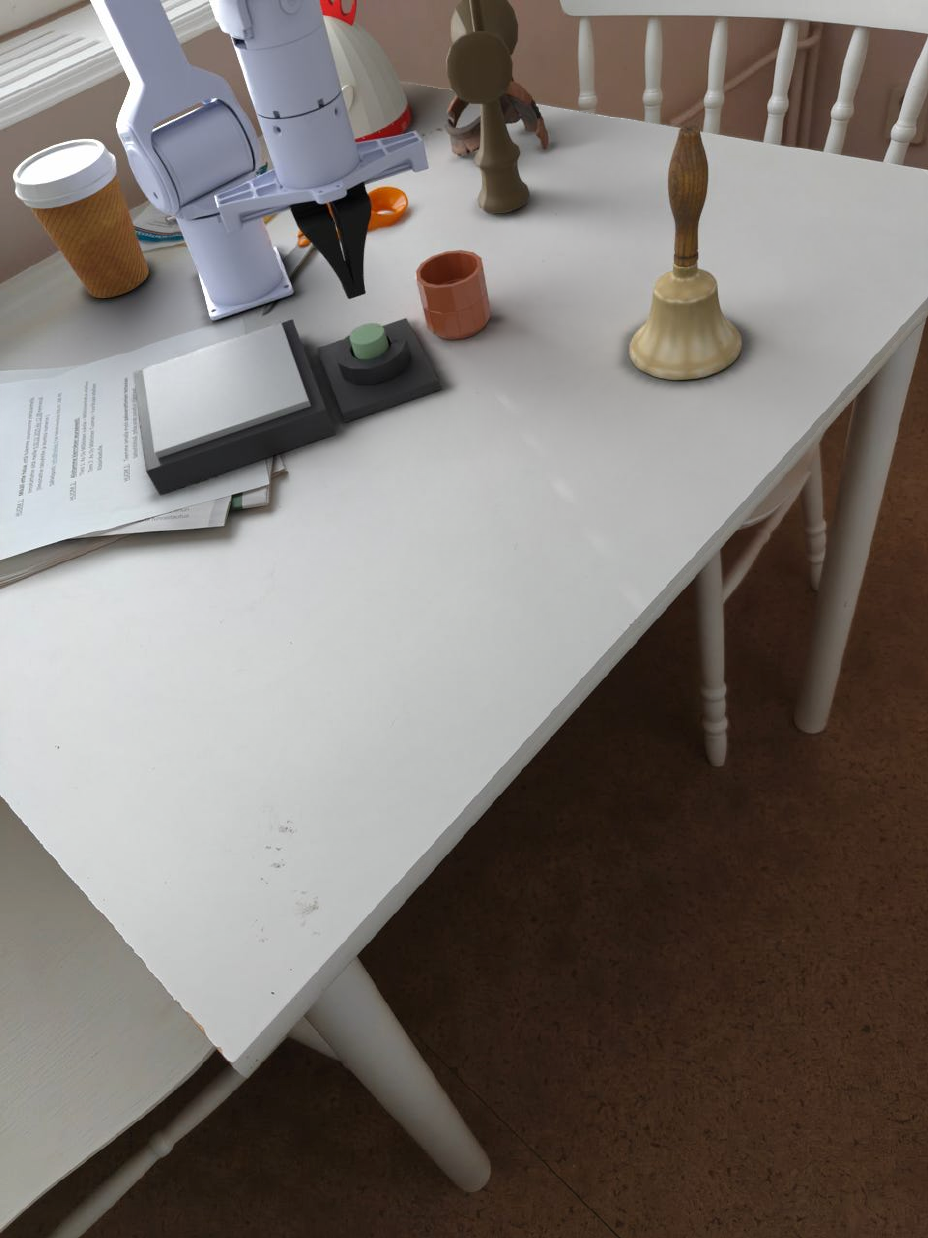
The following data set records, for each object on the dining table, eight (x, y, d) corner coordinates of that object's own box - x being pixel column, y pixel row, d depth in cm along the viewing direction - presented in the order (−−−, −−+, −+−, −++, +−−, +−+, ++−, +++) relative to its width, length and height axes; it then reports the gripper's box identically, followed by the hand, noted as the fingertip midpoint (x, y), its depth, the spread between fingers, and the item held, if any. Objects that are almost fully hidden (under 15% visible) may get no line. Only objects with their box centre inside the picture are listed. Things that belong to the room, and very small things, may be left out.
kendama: (536, 176, 92) (508, -64, 77) (534, 225, 86) (504, -25, 71) (476, 184, 93) (437, -51, 78) (471, 233, 87) (427, -11, 72)
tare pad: (319, 356, 78) (310, 331, 76) (408, 326, 79) (402, 300, 77) (344, 423, 72) (336, 396, 70) (442, 389, 72) (436, 362, 70)
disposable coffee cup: (84, 319, 89) (17, 198, 80) (65, 280, 95) (0, 163, 86) (175, 280, 91) (119, 157, 82) (151, 245, 97) (96, 126, 88)
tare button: (351, 346, 74) (345, 330, 73) (384, 335, 74) (379, 318, 73) (359, 364, 72) (353, 347, 71) (392, 353, 73) (388, 336, 71)
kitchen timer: (307, 112, 113) (266, -31, 101) (417, 96, 110) (387, -53, 99) (282, 166, 104) (234, 16, 93) (401, 149, 101) (366, -8, 90)
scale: (145, 395, 79) (129, 365, 77) (301, 342, 80) (290, 312, 78) (159, 495, 70) (142, 465, 68) (335, 434, 71) (324, 402, 69)
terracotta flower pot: (420, 317, 79) (407, 263, 75) (480, 297, 80) (470, 242, 76) (438, 349, 76) (425, 294, 72) (501, 328, 76) (492, 272, 72)
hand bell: (648, 311, 74) (643, 100, 62) (754, 321, 71) (770, 100, 59) (614, 374, 69) (601, 160, 57) (725, 388, 66) (736, 164, 54)
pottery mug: (557, 165, 94) (510, 105, 88) (482, 211, 99) (433, 157, 93) (554, 85, 99) (509, 23, 93) (482, 133, 104) (436, 77, 98)
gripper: (196, 156, 56) (271, 348, 66) (422, 84, 57) (460, 284, 67) (184, 116, 61) (255, 301, 71) (393, 50, 62) (433, 242, 72)
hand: (354, 290), depth 69 cm, fingers closed
